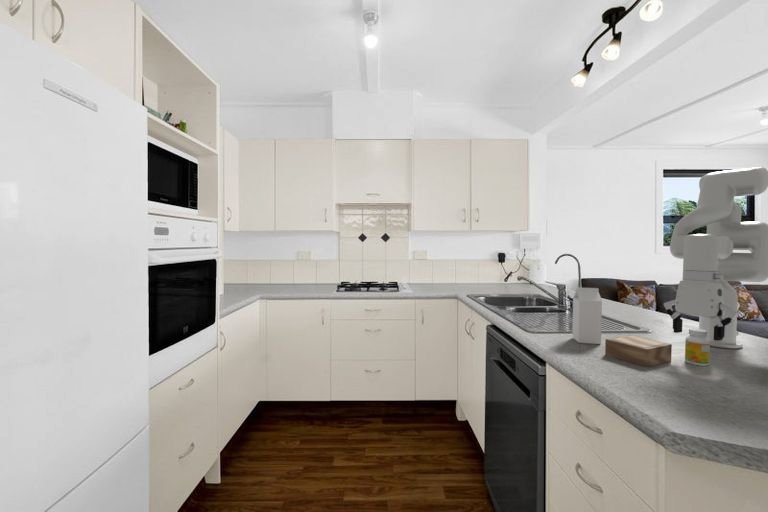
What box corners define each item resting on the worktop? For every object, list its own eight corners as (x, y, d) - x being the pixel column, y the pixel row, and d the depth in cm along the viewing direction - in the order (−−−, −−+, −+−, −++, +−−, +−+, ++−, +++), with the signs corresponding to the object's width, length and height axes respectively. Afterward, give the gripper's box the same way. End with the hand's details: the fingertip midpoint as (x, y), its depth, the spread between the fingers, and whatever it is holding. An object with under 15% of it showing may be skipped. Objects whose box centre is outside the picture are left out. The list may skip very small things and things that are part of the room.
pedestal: (629, 350, 118) (629, 334, 118) (671, 361, 107) (671, 344, 107) (605, 354, 113) (605, 338, 113) (646, 366, 102) (647, 349, 102)
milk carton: (601, 344, 124) (602, 289, 123) (578, 343, 126) (579, 289, 125) (593, 339, 131) (594, 287, 130) (572, 338, 133) (573, 286, 132)
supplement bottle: (679, 360, 108) (680, 327, 107) (696, 359, 108) (697, 327, 108) (696, 366, 102) (698, 332, 102) (714, 365, 103) (715, 332, 102)
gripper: (745, 279, 98) (742, 342, 98) (672, 274, 114) (670, 328, 114) (731, 279, 95) (728, 344, 95) (658, 274, 111) (656, 330, 111)
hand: (697, 336), depth 105 cm, fingers open, 9 cm apart
